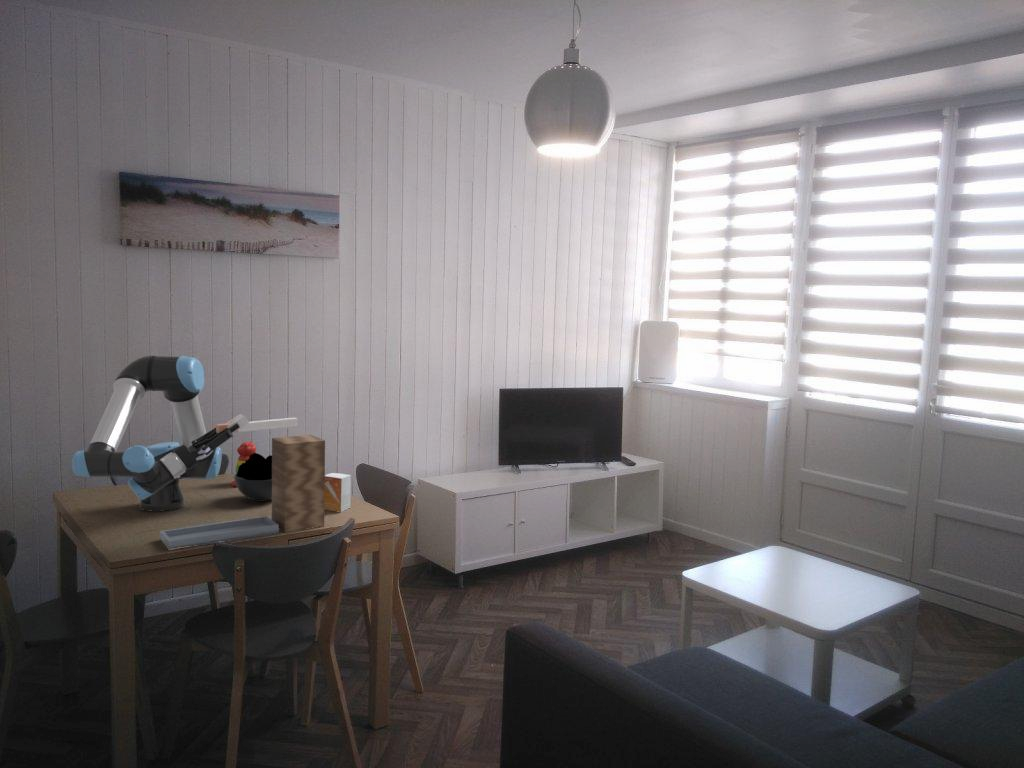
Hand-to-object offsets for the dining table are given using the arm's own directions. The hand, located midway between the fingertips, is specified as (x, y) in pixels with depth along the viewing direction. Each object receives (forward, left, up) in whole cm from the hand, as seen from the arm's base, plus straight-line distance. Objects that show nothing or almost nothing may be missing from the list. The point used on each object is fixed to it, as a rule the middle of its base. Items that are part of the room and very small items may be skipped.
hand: (244, 418), depth 248 cm
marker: (+4, +1, -4) cm, 6 cm away
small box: (+34, +22, -39) cm, 56 cm away
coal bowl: (+9, +42, -39) cm, 58 cm away
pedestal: (+18, +6, -39) cm, 43 cm away
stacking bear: (+5, +69, -39) cm, 79 cm away
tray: (-8, -1, -39) cm, 40 cm away
